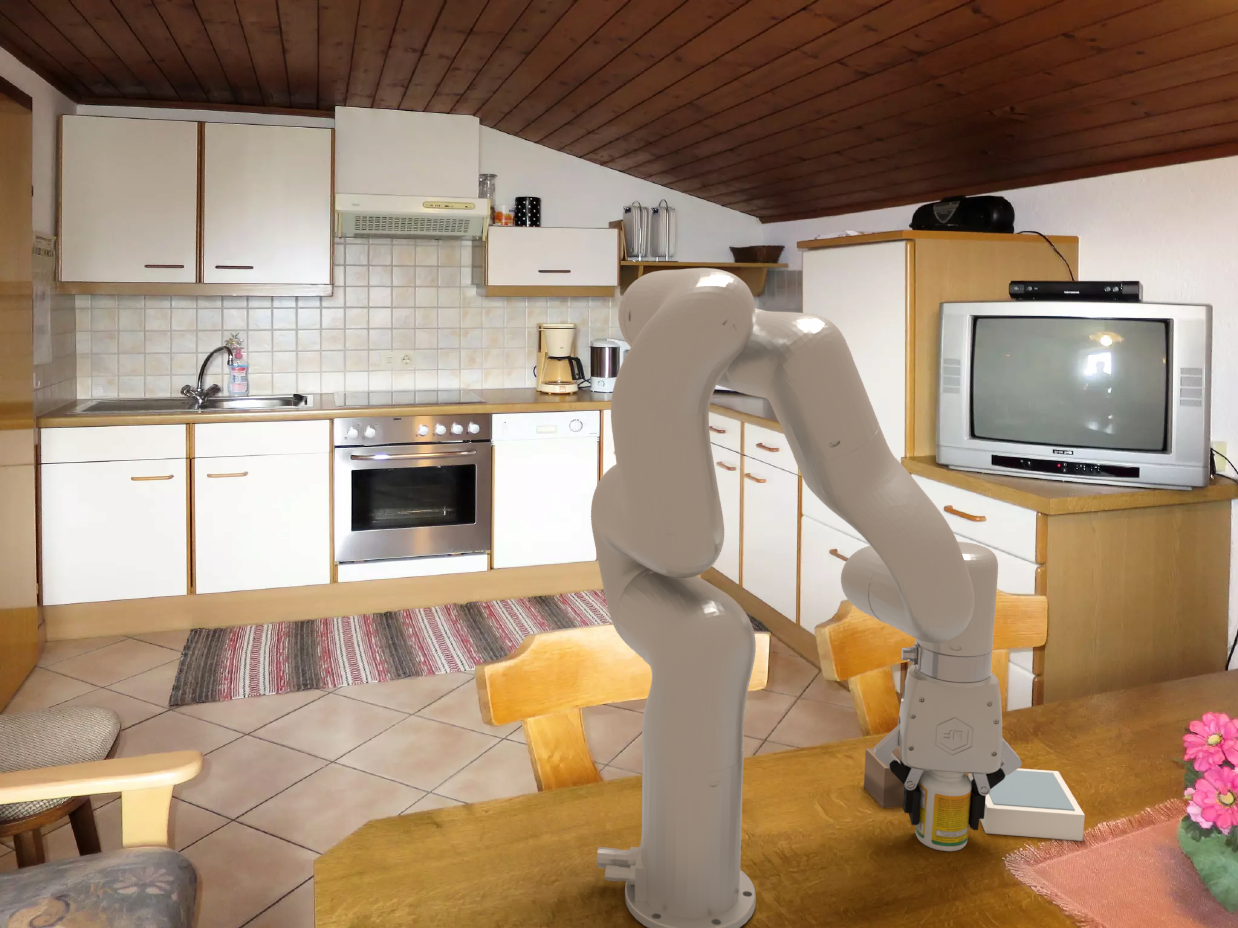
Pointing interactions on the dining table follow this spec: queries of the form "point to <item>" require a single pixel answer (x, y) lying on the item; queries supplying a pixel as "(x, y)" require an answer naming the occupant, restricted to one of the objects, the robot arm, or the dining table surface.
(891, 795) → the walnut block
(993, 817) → the base
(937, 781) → the supplement bottle
